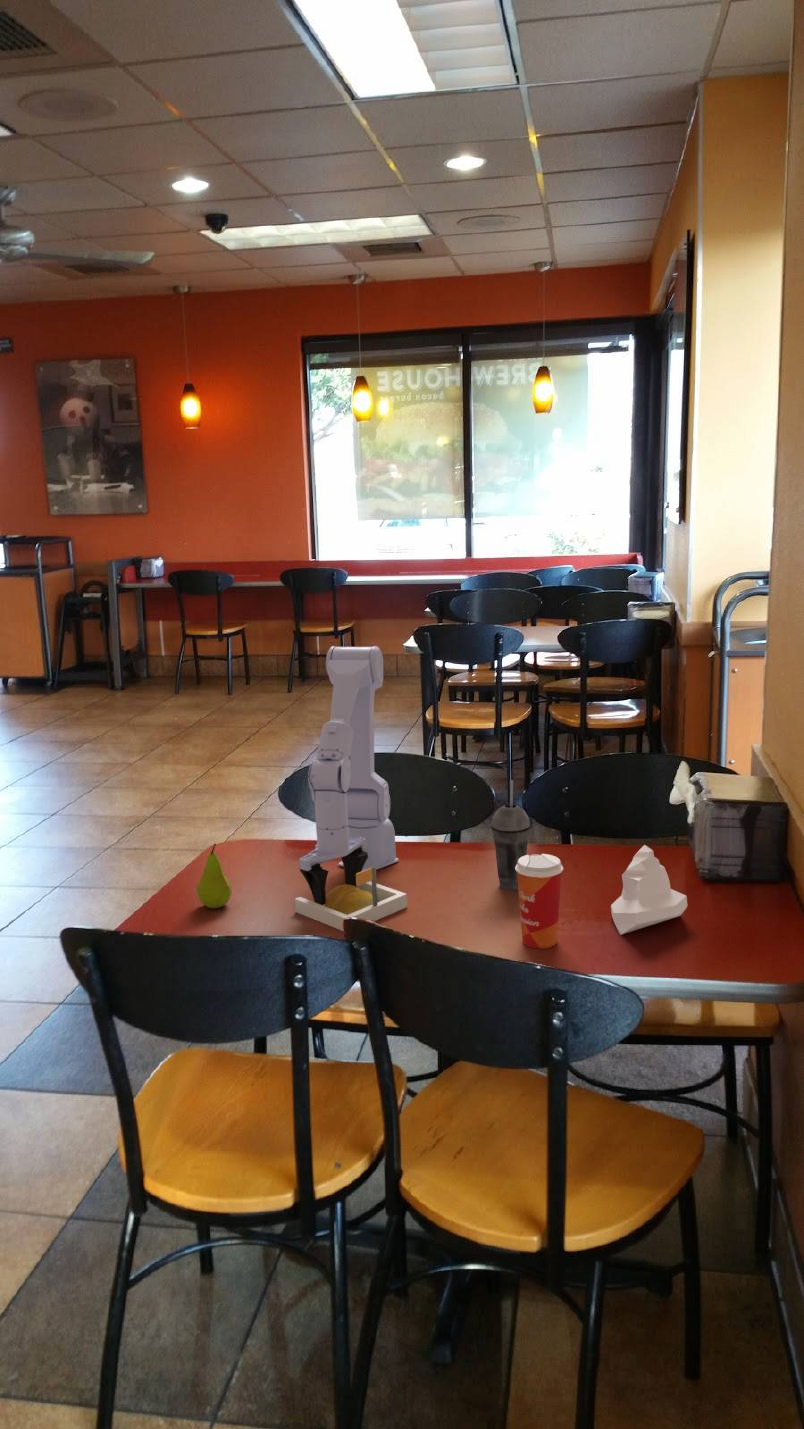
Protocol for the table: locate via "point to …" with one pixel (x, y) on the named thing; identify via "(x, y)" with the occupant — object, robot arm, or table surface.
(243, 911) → the table surface
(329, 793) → the robot arm
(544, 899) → the paper cup
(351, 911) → the bread roll
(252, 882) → the table surface
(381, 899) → the pocket
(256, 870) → the table surface
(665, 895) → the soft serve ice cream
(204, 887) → the fruit
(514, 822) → the beverage cup
